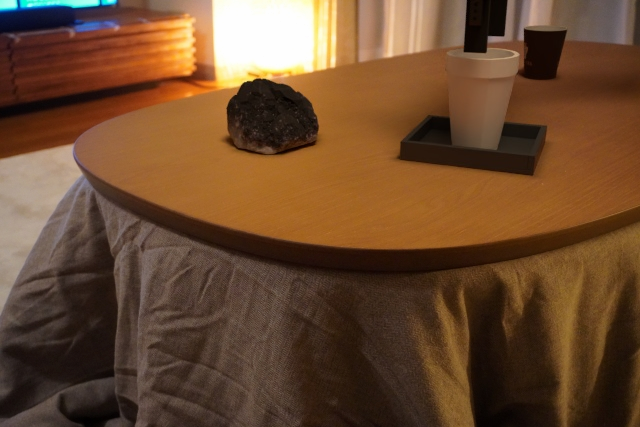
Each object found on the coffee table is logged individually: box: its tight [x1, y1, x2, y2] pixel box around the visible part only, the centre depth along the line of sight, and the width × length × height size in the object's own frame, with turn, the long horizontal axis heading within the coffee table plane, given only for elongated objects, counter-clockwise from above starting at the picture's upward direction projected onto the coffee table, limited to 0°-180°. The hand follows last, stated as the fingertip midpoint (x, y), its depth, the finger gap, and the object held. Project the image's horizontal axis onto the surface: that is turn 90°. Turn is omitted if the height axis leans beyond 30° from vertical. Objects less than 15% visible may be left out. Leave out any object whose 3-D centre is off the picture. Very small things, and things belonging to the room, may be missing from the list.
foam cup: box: [445, 47, 521, 150], centre depth 85 cm, size 10×9×13 cm
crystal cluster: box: [225, 77, 320, 155], centre depth 93 cm, size 13×14×10 cm
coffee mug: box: [523, 24, 568, 81], centre depth 131 cm, size 12×9×10 cm
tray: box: [399, 114, 548, 176], centre depth 88 cm, size 18×15×3 cm
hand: (485, 44), depth 82 cm, fingers open, 13 cm apart
